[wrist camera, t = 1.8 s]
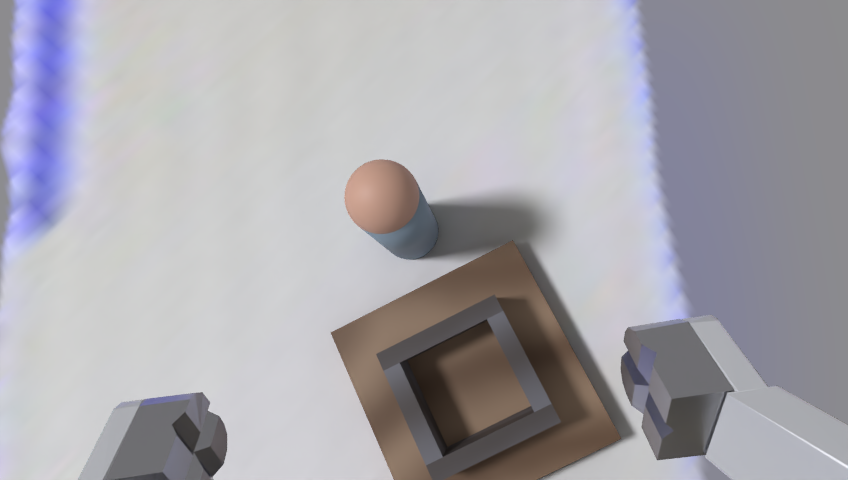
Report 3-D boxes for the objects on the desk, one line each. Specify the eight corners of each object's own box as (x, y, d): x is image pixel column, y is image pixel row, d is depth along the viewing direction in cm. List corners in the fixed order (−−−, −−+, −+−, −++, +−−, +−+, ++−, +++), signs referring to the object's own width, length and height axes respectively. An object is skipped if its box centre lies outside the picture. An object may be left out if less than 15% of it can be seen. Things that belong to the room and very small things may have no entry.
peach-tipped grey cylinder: (447, 243, 39) (427, 202, 27) (397, 269, 39) (354, 240, 27) (423, 194, 40) (392, 134, 28) (373, 220, 40) (322, 171, 28)
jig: (616, 434, 35) (633, 448, 30) (421, 528, 35) (411, 556, 31) (512, 243, 38) (514, 231, 34) (336, 332, 39) (316, 332, 34)
